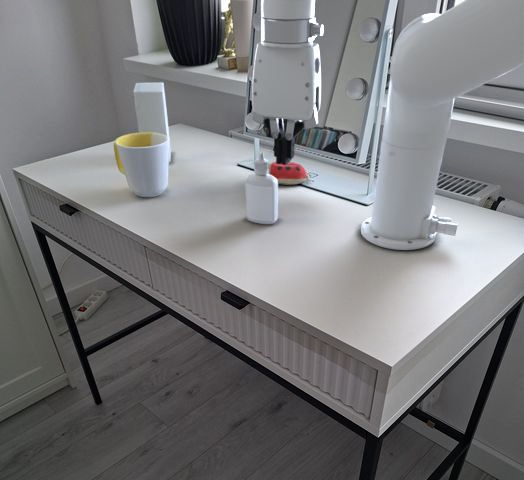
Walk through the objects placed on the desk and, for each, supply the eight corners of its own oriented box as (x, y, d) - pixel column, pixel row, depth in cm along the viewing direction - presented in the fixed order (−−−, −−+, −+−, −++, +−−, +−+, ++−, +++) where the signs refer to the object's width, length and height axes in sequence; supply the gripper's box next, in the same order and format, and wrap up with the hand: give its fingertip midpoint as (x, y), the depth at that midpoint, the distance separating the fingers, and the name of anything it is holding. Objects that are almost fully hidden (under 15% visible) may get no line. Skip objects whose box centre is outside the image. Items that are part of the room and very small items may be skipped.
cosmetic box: (145, 153, 122) (134, 82, 113) (173, 152, 123) (164, 81, 113) (143, 165, 116) (131, 90, 106) (172, 164, 116) (162, 89, 107)
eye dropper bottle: (262, 228, 89) (261, 159, 82) (243, 218, 93) (240, 151, 85) (281, 221, 91) (282, 154, 84) (262, 212, 95) (261, 146, 87)
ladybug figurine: (265, 173, 111) (265, 157, 108) (310, 176, 109) (311, 160, 107) (259, 184, 106) (259, 167, 103) (306, 188, 104) (306, 170, 102)
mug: (184, 193, 102) (178, 139, 96) (139, 206, 97) (130, 150, 91) (151, 175, 111) (143, 124, 104) (108, 186, 106) (97, 134, 99)
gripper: (344, 31, 73) (333, 160, 84) (249, 27, 77) (251, 150, 89) (330, 39, 67) (320, 175, 79) (228, 33, 72) (233, 163, 83)
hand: (284, 161), depth 84 cm, fingers closed
